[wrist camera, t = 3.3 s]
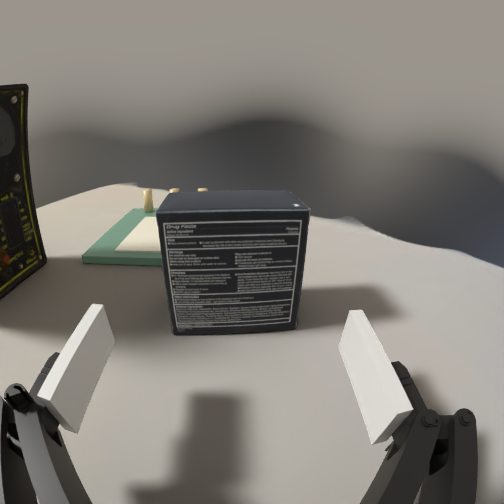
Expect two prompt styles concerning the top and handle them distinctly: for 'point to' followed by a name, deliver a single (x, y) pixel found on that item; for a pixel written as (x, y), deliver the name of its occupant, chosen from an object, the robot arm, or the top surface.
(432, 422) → the robot arm
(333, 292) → the top surface
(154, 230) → the green header board
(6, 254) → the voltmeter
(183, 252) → the small box
